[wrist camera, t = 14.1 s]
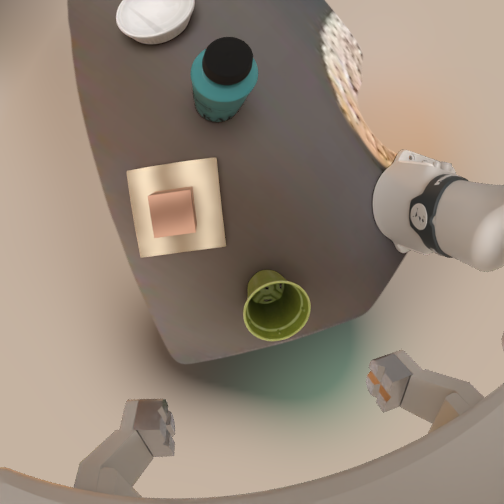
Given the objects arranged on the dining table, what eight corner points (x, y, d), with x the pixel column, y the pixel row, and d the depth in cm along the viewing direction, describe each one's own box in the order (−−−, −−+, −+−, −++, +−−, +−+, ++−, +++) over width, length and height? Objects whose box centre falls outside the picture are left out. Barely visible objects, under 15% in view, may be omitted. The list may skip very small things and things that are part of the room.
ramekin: (114, 48, 31) (104, 36, 26) (138, -6, 28) (132, -21, 23) (182, 54, 34) (180, 40, 29) (203, -1, 31) (204, -17, 26)
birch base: (215, 158, 39) (216, 157, 35) (224, 238, 43) (226, 246, 39) (133, 170, 38) (126, 171, 34) (146, 249, 42) (140, 257, 38)
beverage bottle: (211, 75, 35) (216, 9, 16) (249, 98, 37) (285, 48, 18) (185, 111, 36) (167, 66, 18) (224, 133, 38) (240, 107, 19)
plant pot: (241, 317, 48) (249, 347, 39) (231, 265, 44) (237, 289, 36) (295, 305, 48) (312, 332, 40) (290, 254, 45) (308, 274, 37)
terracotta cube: (197, 223, 38) (195, 232, 33) (160, 228, 37) (154, 238, 32) (192, 186, 36) (190, 189, 31) (155, 191, 35) (147, 196, 31)
